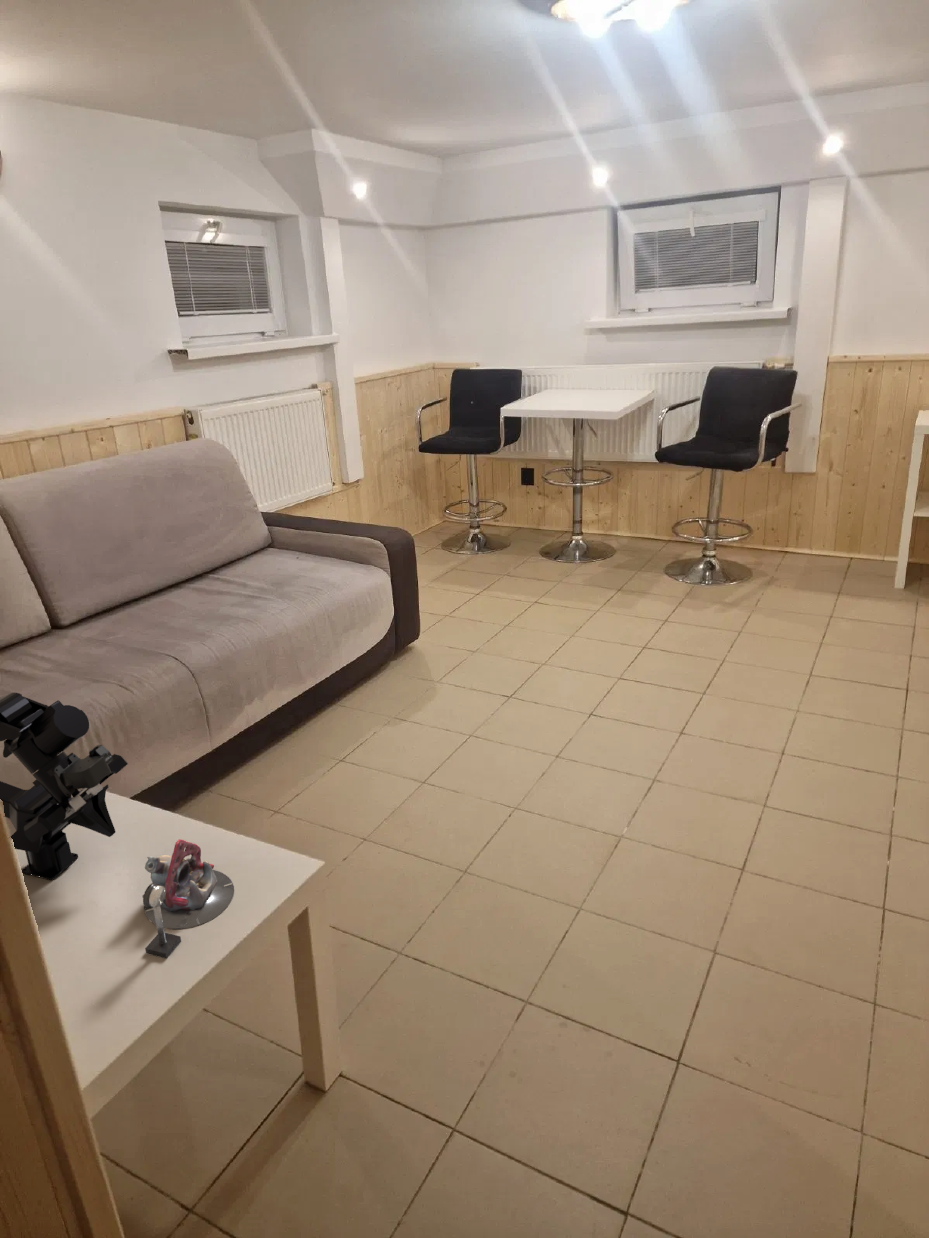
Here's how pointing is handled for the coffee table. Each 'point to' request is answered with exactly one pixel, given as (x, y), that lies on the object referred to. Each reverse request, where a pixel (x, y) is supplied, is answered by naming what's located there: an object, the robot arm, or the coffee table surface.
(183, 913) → the truing plate
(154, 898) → the stand
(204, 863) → the brake caliper
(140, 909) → the coffee table surface
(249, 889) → the coffee table surface
